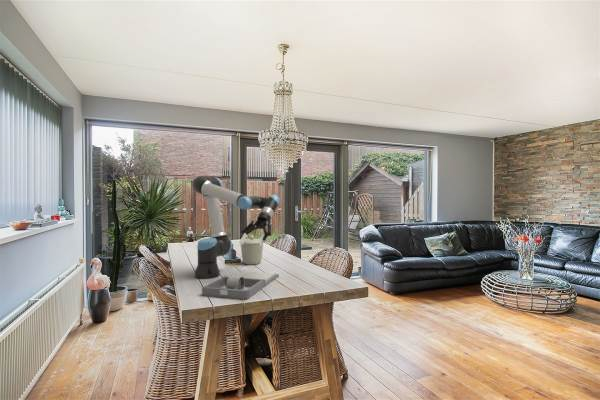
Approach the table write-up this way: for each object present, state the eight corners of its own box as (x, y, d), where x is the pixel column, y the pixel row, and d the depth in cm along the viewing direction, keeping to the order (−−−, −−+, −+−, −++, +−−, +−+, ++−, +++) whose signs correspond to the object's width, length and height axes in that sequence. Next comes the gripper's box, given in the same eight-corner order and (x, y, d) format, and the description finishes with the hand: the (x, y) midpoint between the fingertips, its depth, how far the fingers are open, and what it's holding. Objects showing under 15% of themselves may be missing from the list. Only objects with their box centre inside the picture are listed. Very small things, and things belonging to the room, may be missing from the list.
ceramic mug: (232, 287, 180) (232, 273, 179) (245, 289, 177) (245, 275, 177) (221, 293, 170) (221, 279, 169) (235, 295, 167) (234, 280, 167)
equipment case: (201, 295, 165) (201, 287, 165) (242, 274, 211) (242, 267, 211) (246, 299, 159) (246, 291, 159) (278, 276, 204) (278, 270, 204)
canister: (239, 261, 250) (238, 234, 250) (262, 260, 255) (262, 233, 254) (240, 266, 233) (240, 237, 232) (265, 265, 237) (265, 236, 237)
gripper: (285, 220, 193) (271, 249, 180) (252, 219, 206) (236, 246, 193) (280, 211, 188) (265, 241, 176) (246, 211, 201) (230, 238, 188)
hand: (250, 244), depth 184 cm, fingers open, 13 cm apart
